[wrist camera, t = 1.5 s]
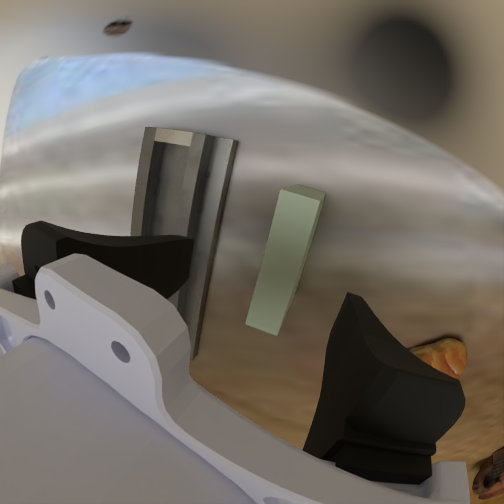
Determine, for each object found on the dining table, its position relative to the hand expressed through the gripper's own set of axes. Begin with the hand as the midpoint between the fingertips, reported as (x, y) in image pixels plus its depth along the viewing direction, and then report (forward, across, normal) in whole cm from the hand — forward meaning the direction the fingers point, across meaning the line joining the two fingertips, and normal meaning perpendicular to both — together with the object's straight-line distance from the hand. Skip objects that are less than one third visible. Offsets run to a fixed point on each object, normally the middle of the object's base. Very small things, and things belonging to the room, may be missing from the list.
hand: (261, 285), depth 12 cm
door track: (+8, +10, +4) cm, 14 cm away
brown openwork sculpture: (+9, -41, +22) cm, 48 cm away
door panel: (+9, 0, 0) cm, 9 cm away
